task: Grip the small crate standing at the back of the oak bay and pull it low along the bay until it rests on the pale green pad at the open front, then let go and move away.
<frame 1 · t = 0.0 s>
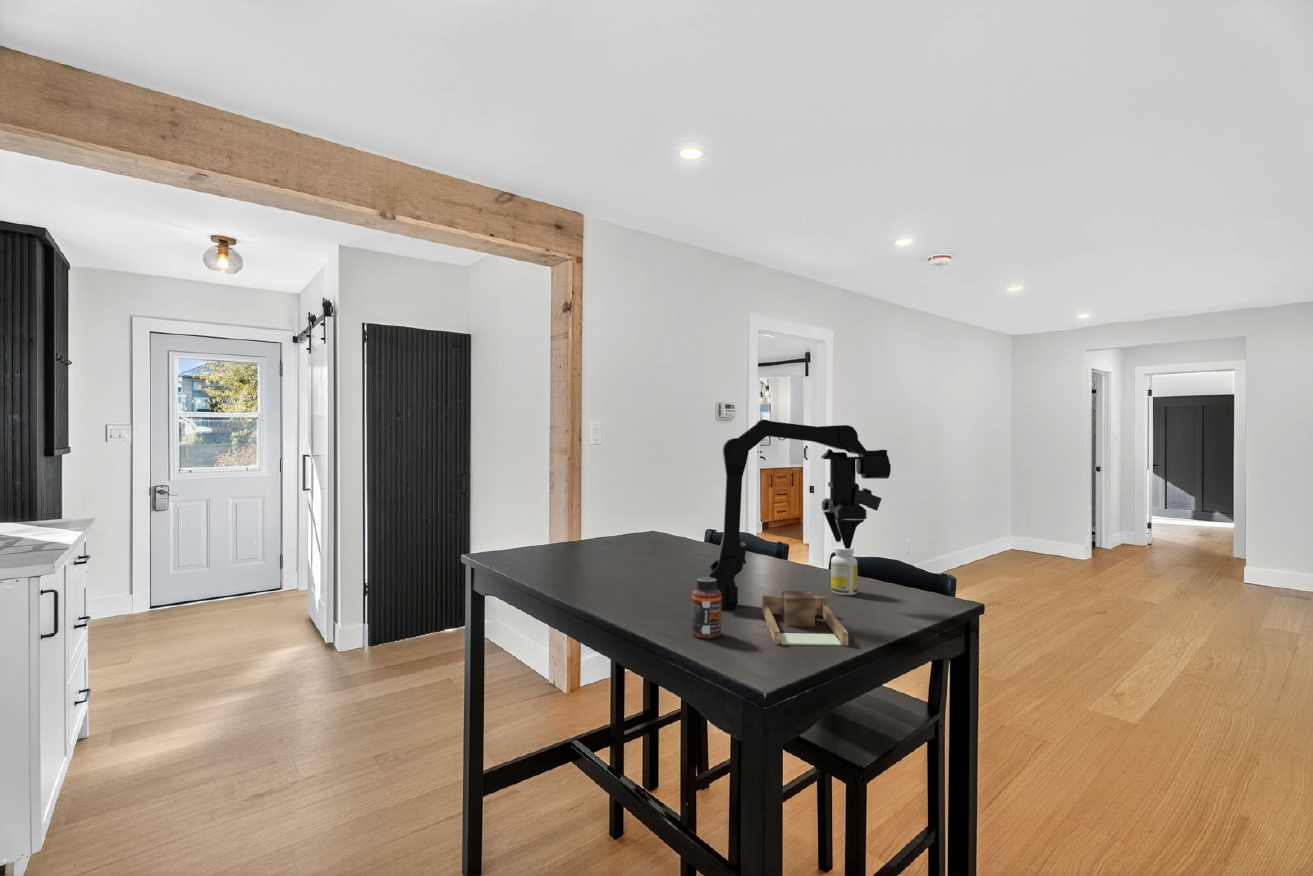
hand: (842, 545, 145), 15 cm above the table, tool pointing down, fingers open, 9 cm apart
front pad: (808, 640, 122), on the table
crate: (798, 622, 134), resting in bay
supplement bottle: (706, 636, 125), on the table
pill bottle: (844, 593, 159), on the table
bay: (801, 628, 130), on the table
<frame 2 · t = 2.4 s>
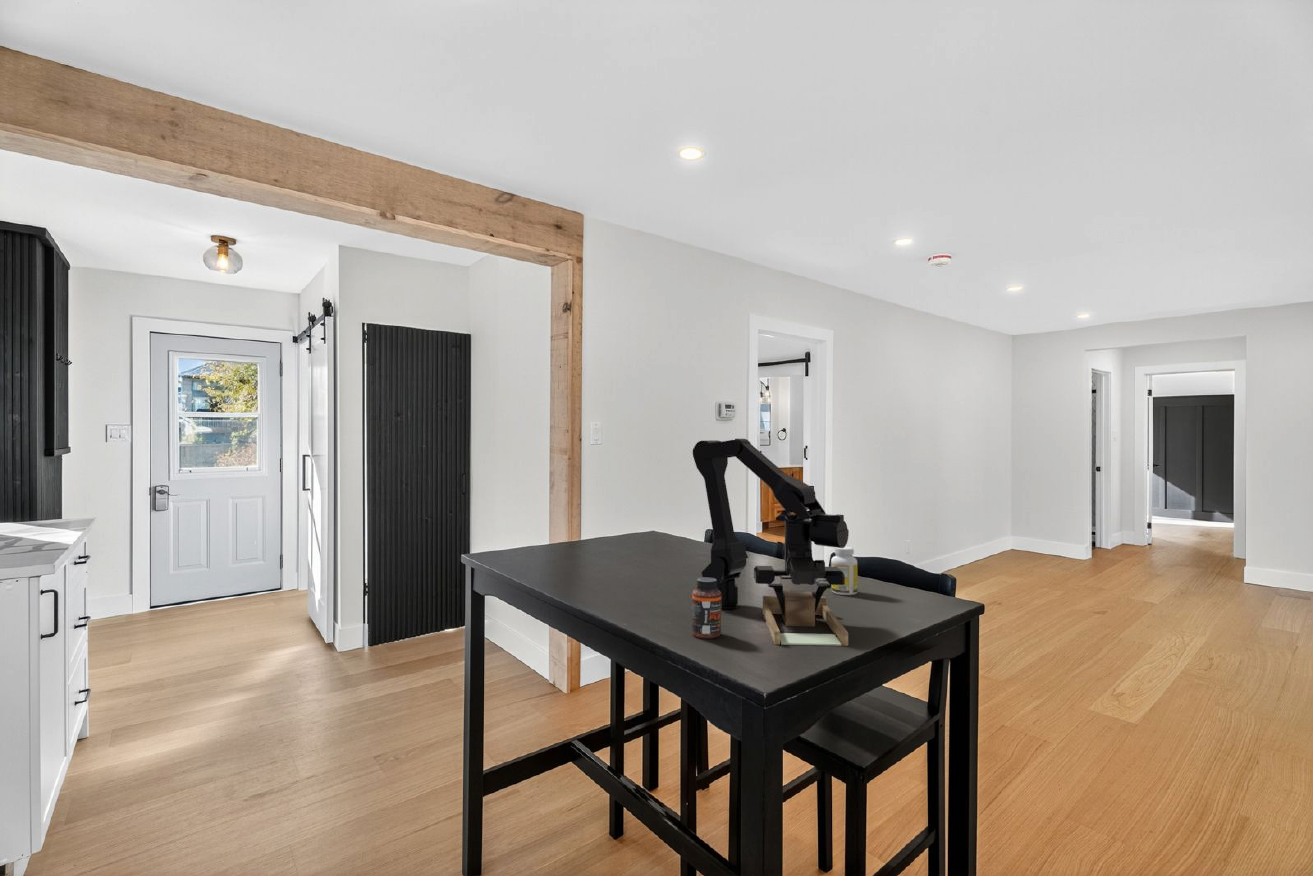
hand: (798, 614, 134), 2 cm above the table, tool pointing down, fingers closed on crate, 6 cm apart
crate: (798, 621, 134), resting in bay, touching gripper
everything else where it was.
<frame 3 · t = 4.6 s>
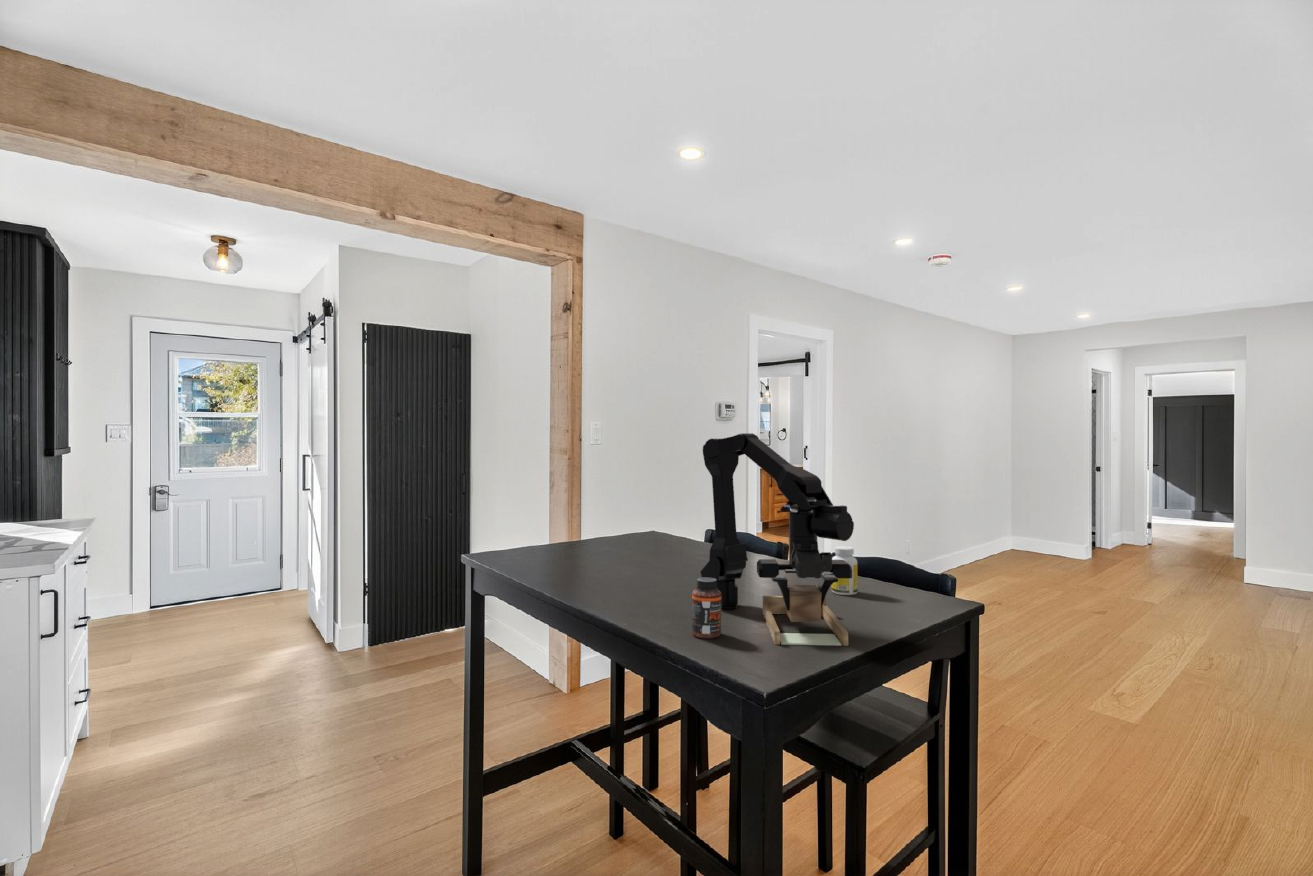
hand: (803, 610, 129), 4 cm above the table, tool pointing down, fingers closed on crate, 6 cm apart
crate: (803, 617, 129), point 3 cm above the table, touching gripper
everything else where it was.
when the fingers open (2 cm above the table, at t = 6.6 s): crate stays where it is, resting on front pad.
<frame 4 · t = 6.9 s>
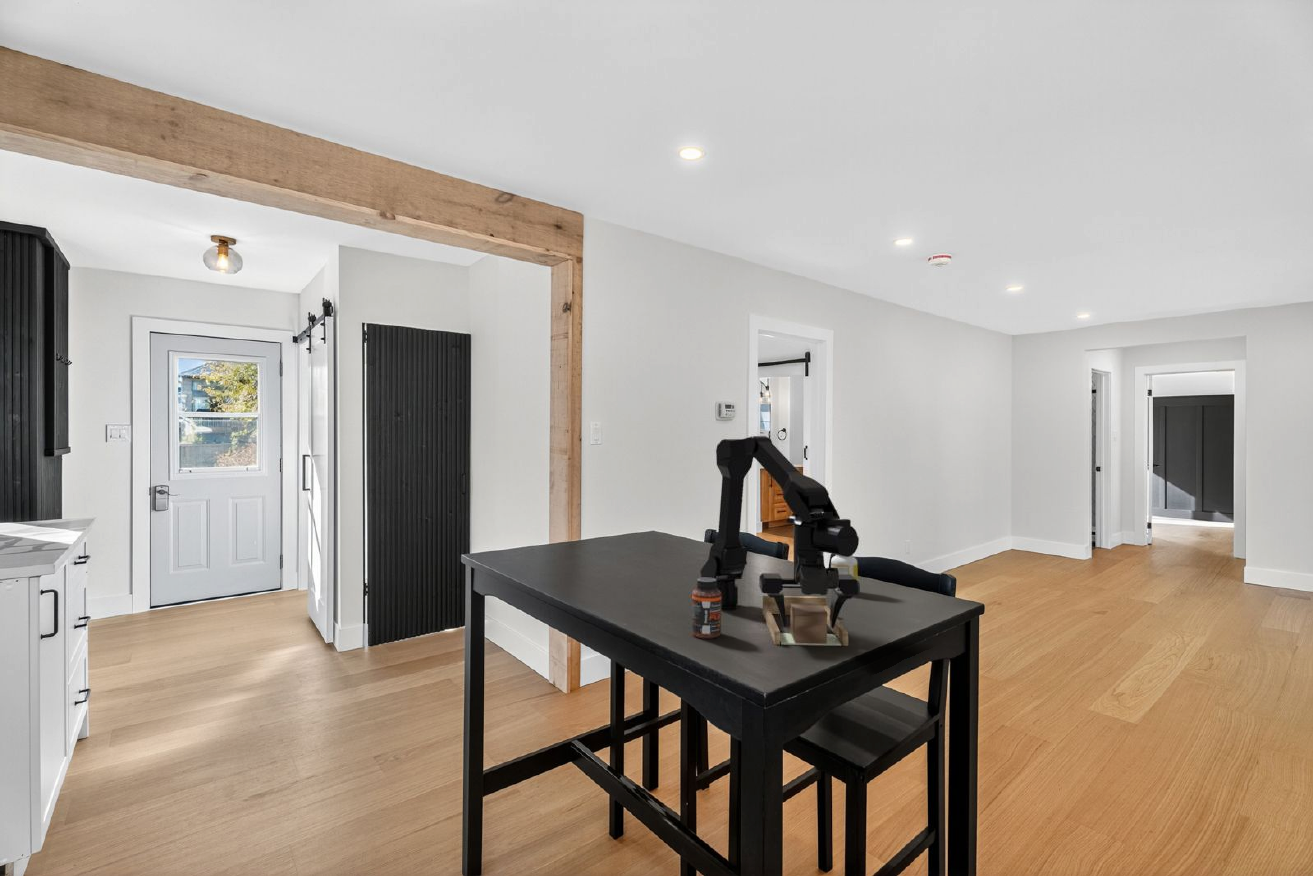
hand: (808, 627, 122), 2 cm above the table, tool pointing down, fingers open, 9 cm apart
crate: (808, 638, 122), resting on front pad
everything else where it was.
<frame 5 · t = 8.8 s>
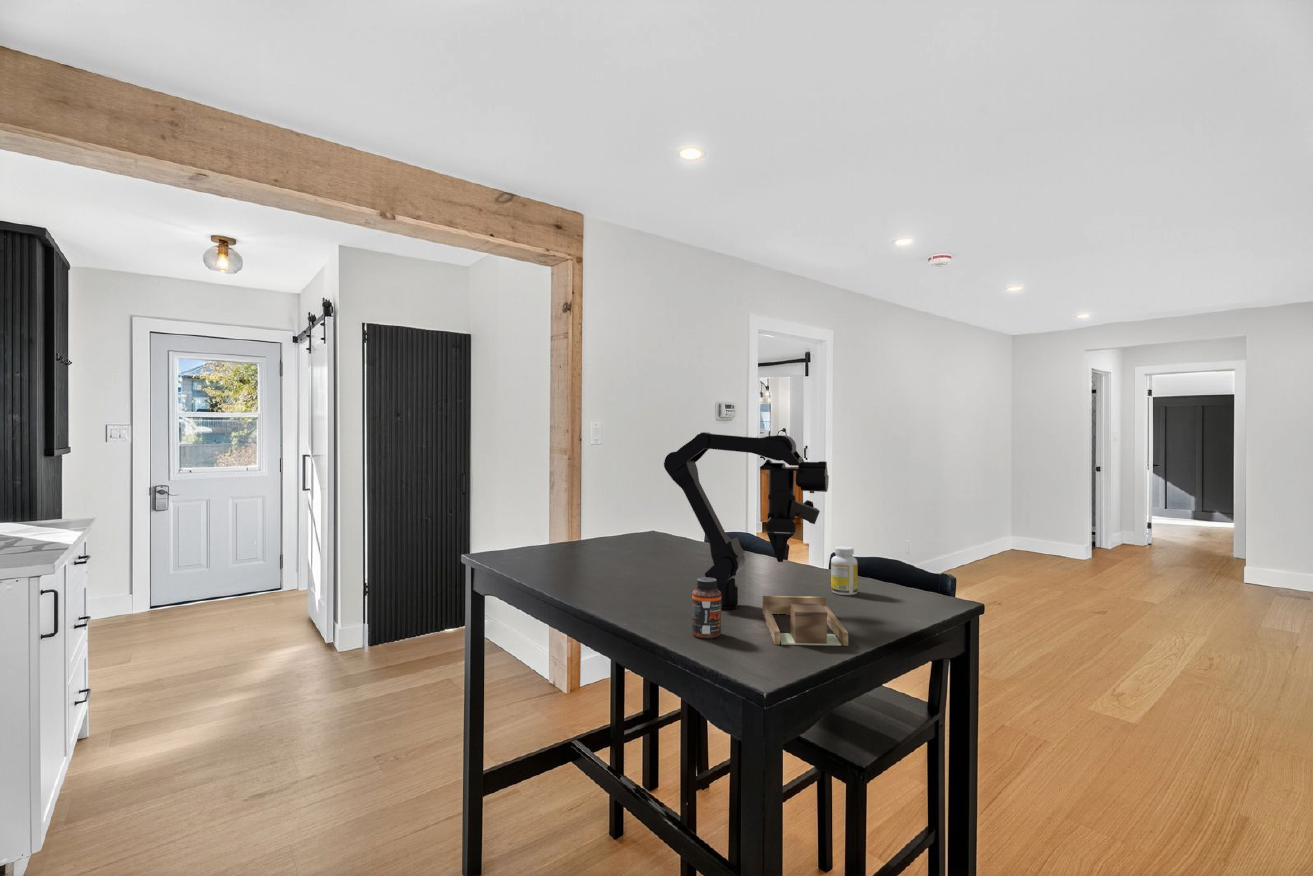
hand: (780, 558, 142), 12 cm above the table, tool pointing down, fingers open, 9 cm apart
nothing on the table moved.
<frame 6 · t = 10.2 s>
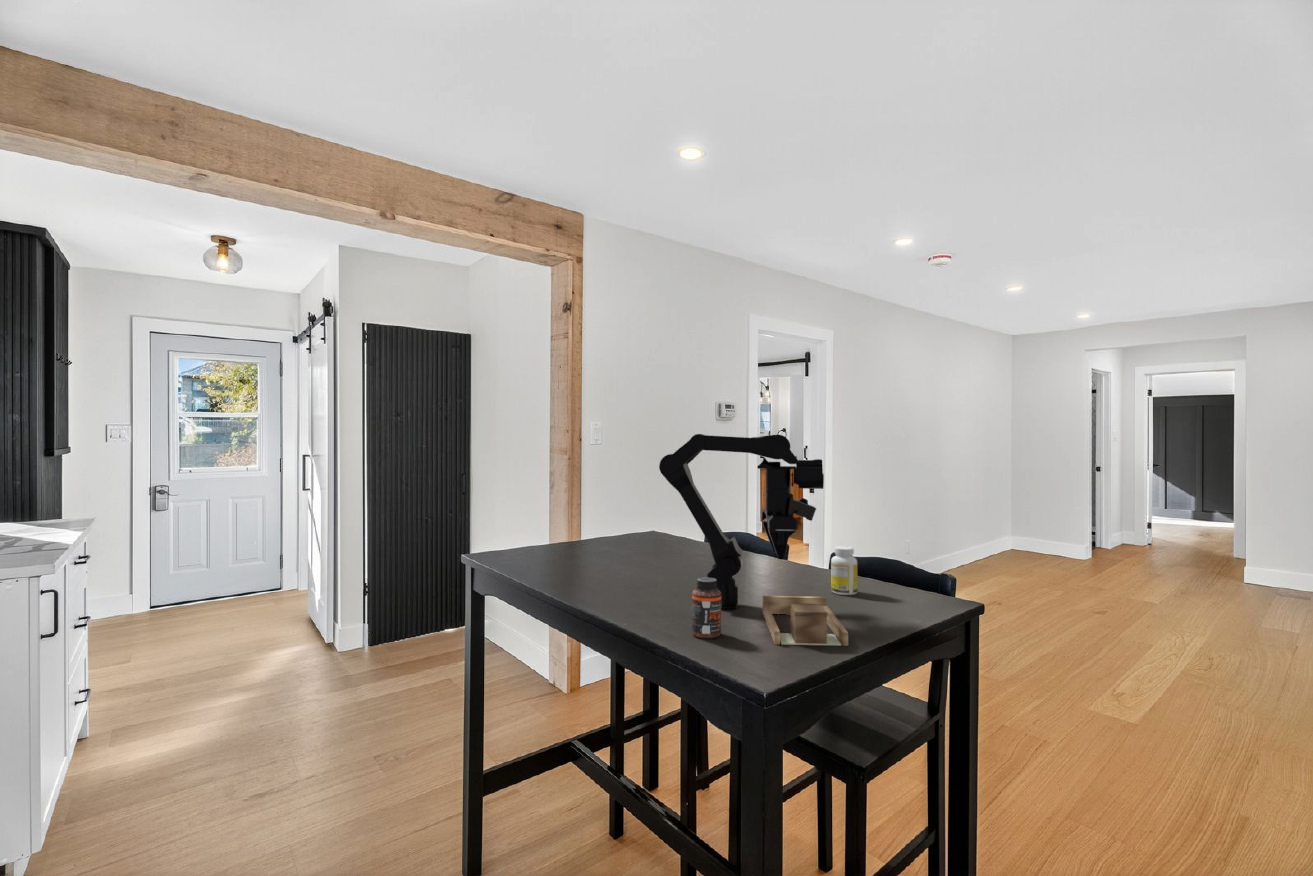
hand: (778, 555, 144), 13 cm above the table, tool pointing down, fingers open, 9 cm apart
nothing on the table moved.
at the end: crate inside the target area (0.0 cm from its centre), resting on front pad; crate tilted 0°; the gripper is holding nothing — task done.
